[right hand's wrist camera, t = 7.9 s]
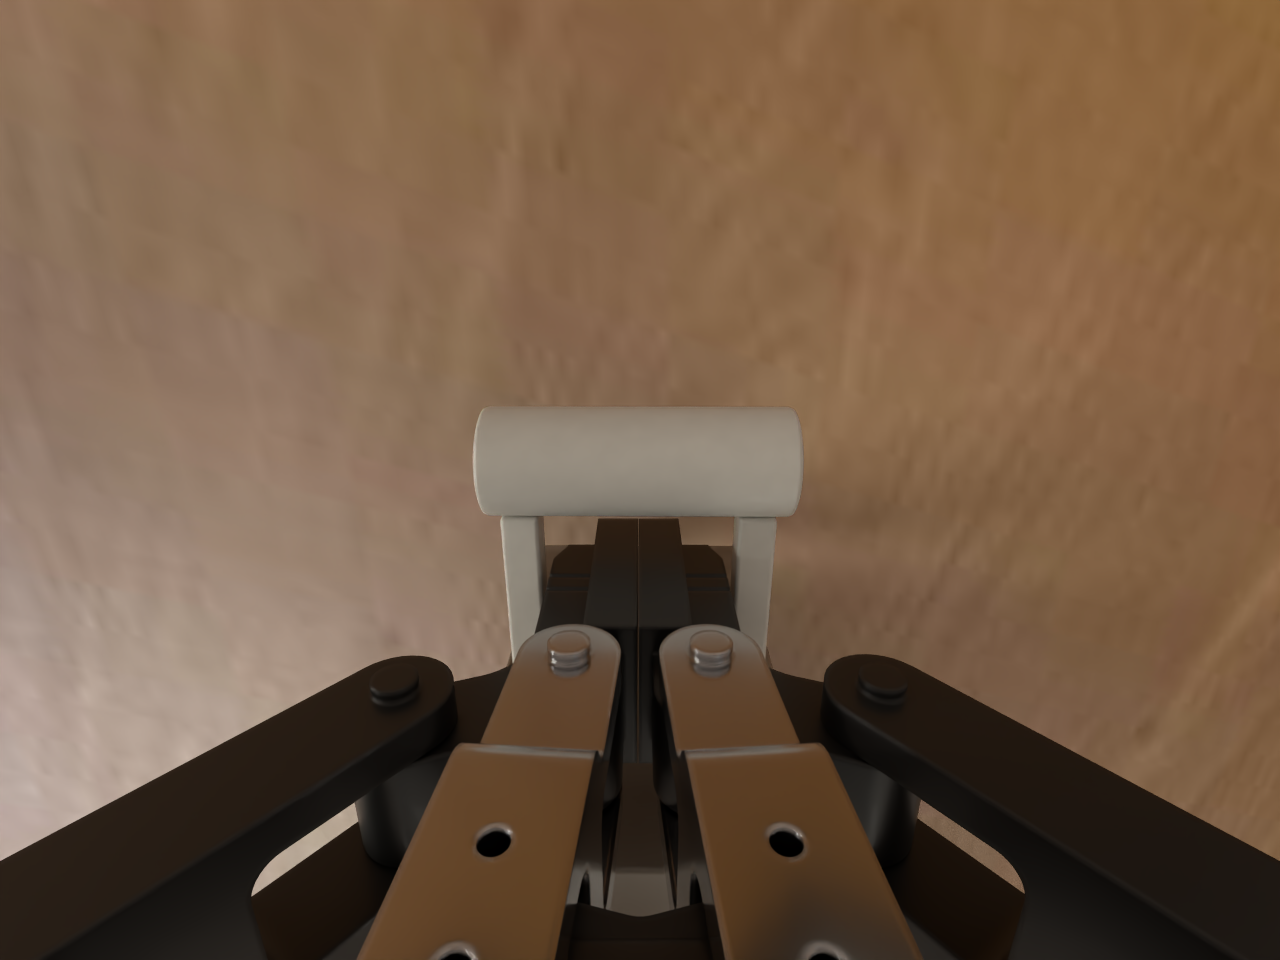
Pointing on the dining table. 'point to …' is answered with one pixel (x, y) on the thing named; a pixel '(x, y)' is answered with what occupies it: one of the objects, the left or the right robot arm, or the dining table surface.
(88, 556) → the dining table surface
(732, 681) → the right robot arm
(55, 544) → the dining table surface
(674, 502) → the drawer
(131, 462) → the dining table surface
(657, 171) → the dining table surface
